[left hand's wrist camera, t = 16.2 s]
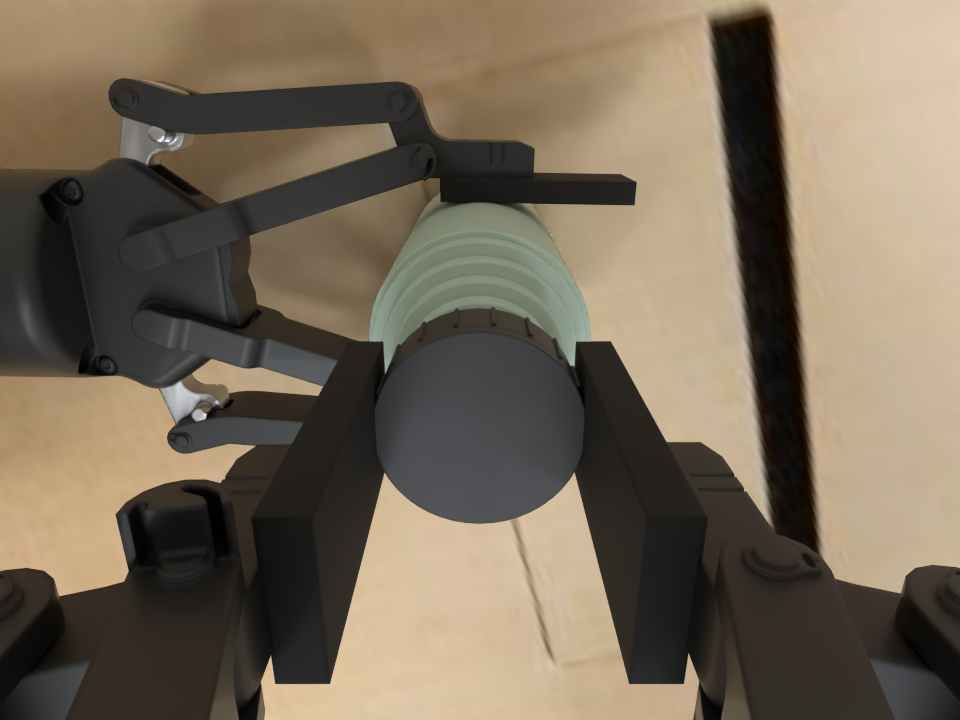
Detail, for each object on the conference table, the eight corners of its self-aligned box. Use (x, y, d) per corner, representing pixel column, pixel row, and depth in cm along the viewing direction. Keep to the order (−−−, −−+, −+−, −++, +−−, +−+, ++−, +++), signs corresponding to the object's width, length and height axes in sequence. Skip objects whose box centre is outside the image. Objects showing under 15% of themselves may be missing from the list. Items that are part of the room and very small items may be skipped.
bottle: (434, 160, 29) (372, 234, 12) (566, 205, 29) (677, 332, 13) (396, 291, 31) (300, 504, 14) (521, 329, 31) (565, 575, 15)
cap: (374, 475, 15) (363, 514, 14) (389, 292, 14) (378, 314, 12) (559, 496, 15) (567, 536, 14) (595, 318, 14) (608, 343, 12)
